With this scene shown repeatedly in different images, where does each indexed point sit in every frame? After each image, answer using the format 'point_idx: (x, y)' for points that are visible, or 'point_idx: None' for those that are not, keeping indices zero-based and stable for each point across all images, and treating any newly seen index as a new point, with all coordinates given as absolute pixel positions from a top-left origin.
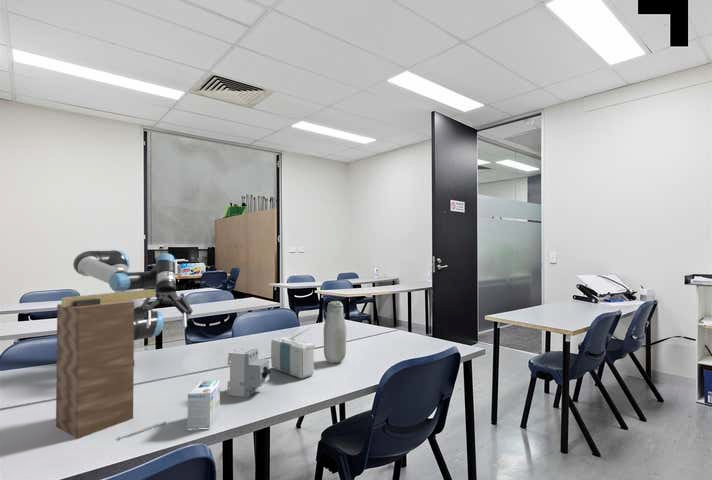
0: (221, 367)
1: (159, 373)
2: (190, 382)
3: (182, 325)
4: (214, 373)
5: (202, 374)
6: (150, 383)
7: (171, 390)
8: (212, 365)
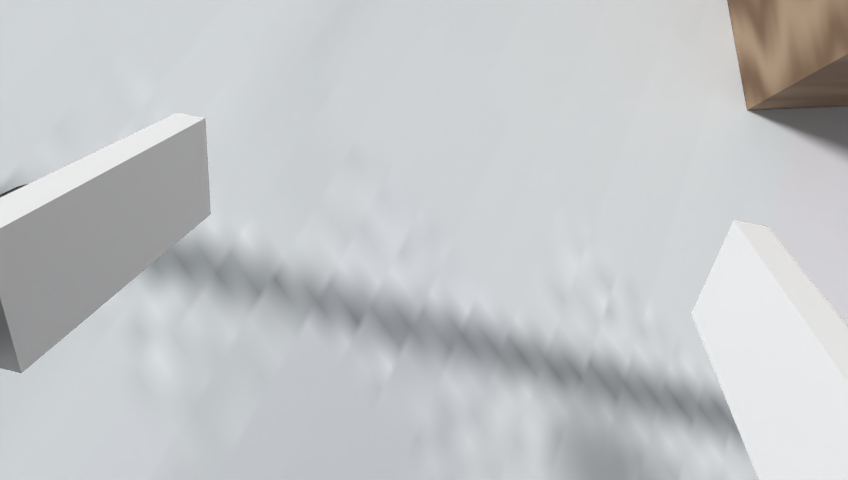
0: None
1: (355, 457)
2: (329, 115)
3: (172, 237)
4: None
5: None
6: (486, 298)
7: (464, 88)
8: None
